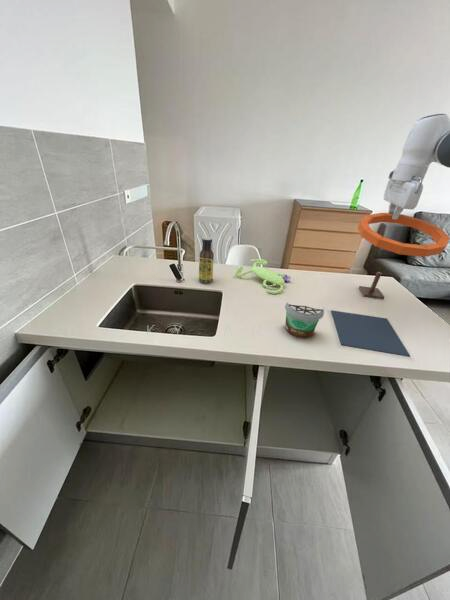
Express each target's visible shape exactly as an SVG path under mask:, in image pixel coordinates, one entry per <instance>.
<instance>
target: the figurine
mask: <svg viewBox="0 0 450 600" xmlns="http://www.w3.org/2000/svg"><path fill="white" fill-rule="evenodd" d="M250 262H252V263H253V266H252V267H250V268H251V269H249V270H247V271H243V270H244V267H243V266H240V267H239V268H238V269H237V270H236V272H235V274H234V276H235V277H240V278H241V277H243V276H245V275H247V274H250V273H252V272H253V274H255V275H256V276H258V277H259V278H261V280H263V281H262V285H263V286H264V287H266V292H267V293H269V294H273V295H275V294H276V295H277V294H280V293H281V292H282V291H283V290H284V285H285V284H286V282H289V281H290V280H291V276H289V275H287V274H285V273H281V272H278V273H276V272H274V271H272V270H270V269H268V268H264V267H261V266H257V265H264V266H267V265H268V261H267V260H265V259H263V258H262V259H261V258H260V259H250ZM267 282H269V283H271V285H268V284H267ZM275 286H280V287H279V288H278V289H277V290H270V289H269V288H268V287H275Z"/></svg>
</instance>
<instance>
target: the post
mask: <svg viewBox="0 0 450 600" xmlns="http://www.w3.org/2000/svg"><path fill="white" fill-rule="evenodd" d="M382 274H383V273H382V272H380V271H377V272H376V274H375V276H374V278H373V281H372V283H371V285H370V286H364V285H363V286H362V285H359V286H358V289H359V291H360V293H361V295H362V297H363V298H369V299H370V298H371V299H377V300H384V299H385V295H384V294H383V293H382V292H381V290H380V289H379V288H378V286H377V285H378V283H379V281H380V278H381V276H382Z"/></svg>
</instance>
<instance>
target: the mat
mask: <svg viewBox="0 0 450 600" xmlns="http://www.w3.org/2000/svg"><path fill="white" fill-rule="evenodd" d="M330 312H331V316H332V319H333V322H334V327H335V329H336V333H337V336H338V339H339V343H340V346H344V347H349V348H350V347H351V348H357V349H361V350H367V351H375V352H380V353H386V354H393V355H398V356H403V357H411V355H410V353H409V351H408V349H406V346H405V345H404V343H403V342H402V340H401V339H400V337H399V335H398V334H397V332H396V330H395V329H394V327H393V325H392V324H391V323H390V321H389V320H388V318H386V317H380V316H373V315H365V314H359V313H352V312H345V311H338V310H333V309H332V310H331V309H330Z"/></svg>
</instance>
